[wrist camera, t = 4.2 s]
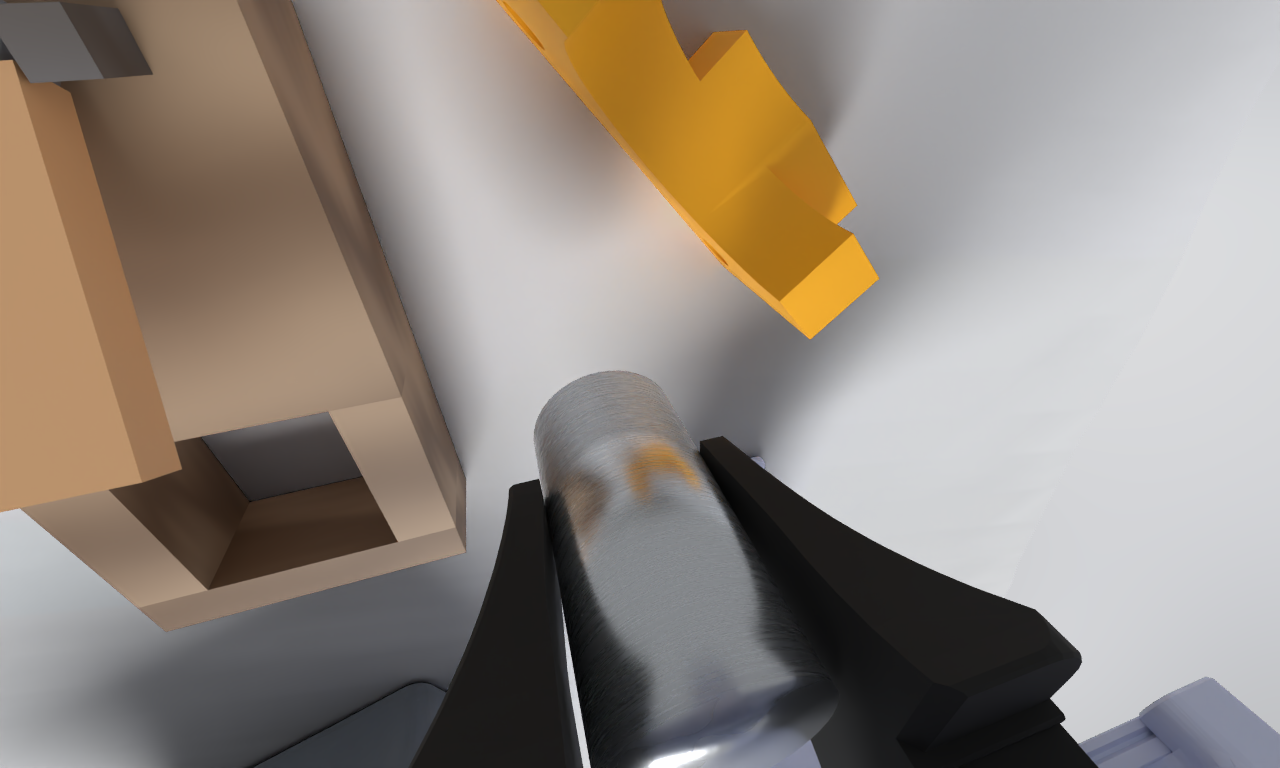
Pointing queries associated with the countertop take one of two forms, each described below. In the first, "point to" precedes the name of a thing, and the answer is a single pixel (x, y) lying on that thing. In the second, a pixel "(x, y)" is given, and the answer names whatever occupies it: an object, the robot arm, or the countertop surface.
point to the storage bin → (370, 734)
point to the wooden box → (242, 308)
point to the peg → (666, 592)
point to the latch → (65, 316)
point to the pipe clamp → (714, 147)
